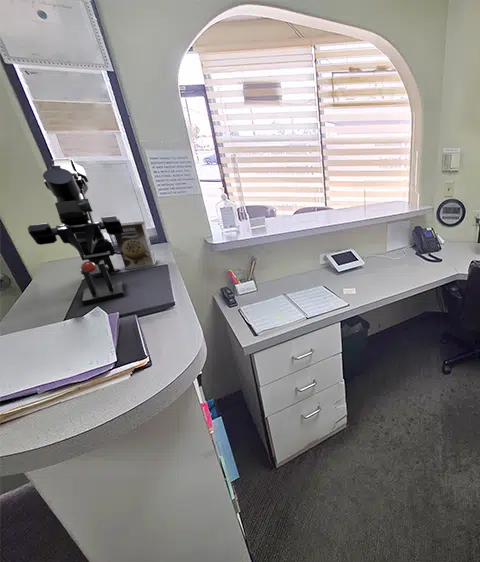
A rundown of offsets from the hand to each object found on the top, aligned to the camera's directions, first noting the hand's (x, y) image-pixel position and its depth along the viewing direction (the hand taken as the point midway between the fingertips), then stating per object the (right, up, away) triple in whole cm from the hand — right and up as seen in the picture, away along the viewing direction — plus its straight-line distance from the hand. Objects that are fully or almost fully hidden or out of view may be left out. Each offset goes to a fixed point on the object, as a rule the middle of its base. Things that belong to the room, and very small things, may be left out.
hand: (86, 254), depth 84 cm
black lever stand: (-2, -11, +8) cm, 14 cm away
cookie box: (-11, -2, +34) cm, 36 cm away
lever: (+1, -5, +1) cm, 5 cm away
